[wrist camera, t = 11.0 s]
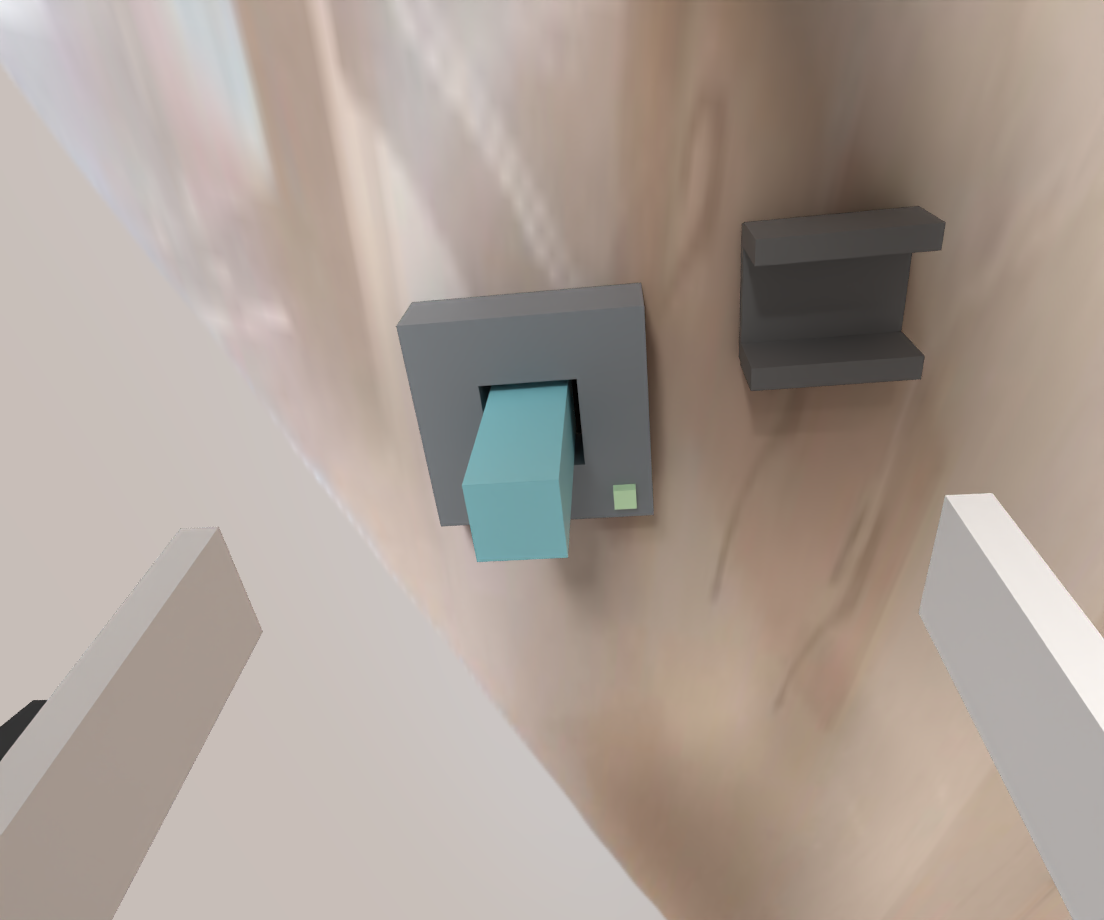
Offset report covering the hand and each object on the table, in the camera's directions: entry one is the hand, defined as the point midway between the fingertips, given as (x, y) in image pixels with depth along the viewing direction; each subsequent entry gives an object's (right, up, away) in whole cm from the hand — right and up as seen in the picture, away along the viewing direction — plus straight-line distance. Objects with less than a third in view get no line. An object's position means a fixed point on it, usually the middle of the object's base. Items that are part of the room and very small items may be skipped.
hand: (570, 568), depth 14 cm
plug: (-1, +6, +28) cm, 28 cm away
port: (-1, +6, +28) cm, 28 cm away
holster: (+13, +11, +24) cm, 29 cm away
